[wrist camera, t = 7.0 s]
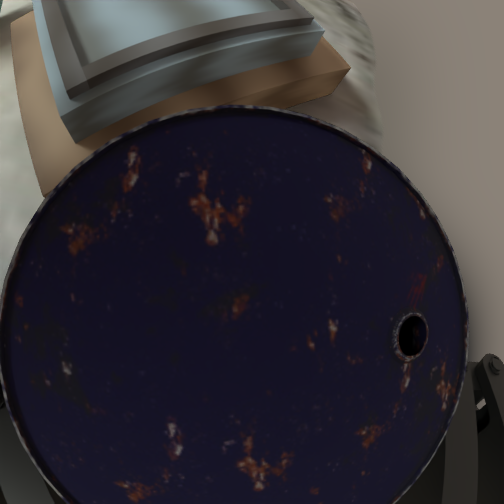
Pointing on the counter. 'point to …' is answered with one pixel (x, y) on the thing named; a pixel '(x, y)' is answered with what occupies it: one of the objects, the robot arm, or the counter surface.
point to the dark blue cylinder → (233, 318)
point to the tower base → (215, 94)
